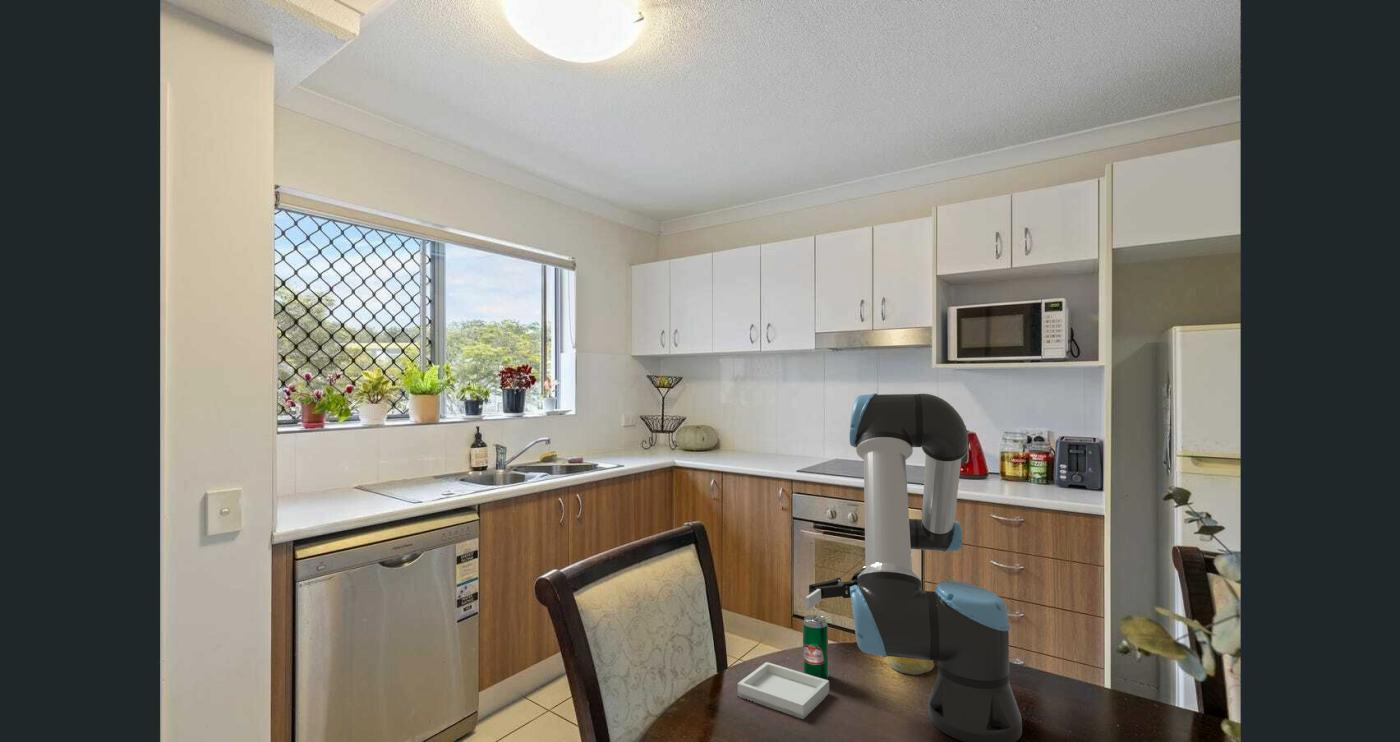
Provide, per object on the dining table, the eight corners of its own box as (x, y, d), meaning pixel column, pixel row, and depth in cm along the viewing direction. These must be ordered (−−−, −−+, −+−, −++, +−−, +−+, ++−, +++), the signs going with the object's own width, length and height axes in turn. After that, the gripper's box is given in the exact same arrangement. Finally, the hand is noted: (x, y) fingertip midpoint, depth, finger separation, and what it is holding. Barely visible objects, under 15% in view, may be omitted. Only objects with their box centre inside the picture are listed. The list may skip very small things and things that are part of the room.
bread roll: (880, 662, 132) (880, 644, 132) (914, 655, 135) (914, 637, 135) (906, 680, 124) (905, 660, 124) (941, 672, 128) (940, 652, 128)
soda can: (800, 680, 125) (799, 620, 125) (807, 669, 129) (806, 612, 129) (824, 685, 122) (823, 625, 122) (831, 674, 127) (830, 616, 127)
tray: (829, 693, 119) (829, 680, 119) (803, 719, 110) (802, 705, 110) (766, 673, 127) (766, 661, 127) (737, 696, 118) (737, 683, 119)
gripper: (923, 608, 144) (892, 641, 127) (824, 587, 159) (784, 614, 141) (922, 576, 144) (891, 605, 127) (824, 558, 159) (784, 582, 141)
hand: (835, 610), depth 134 cm, fingers open, 13 cm apart
